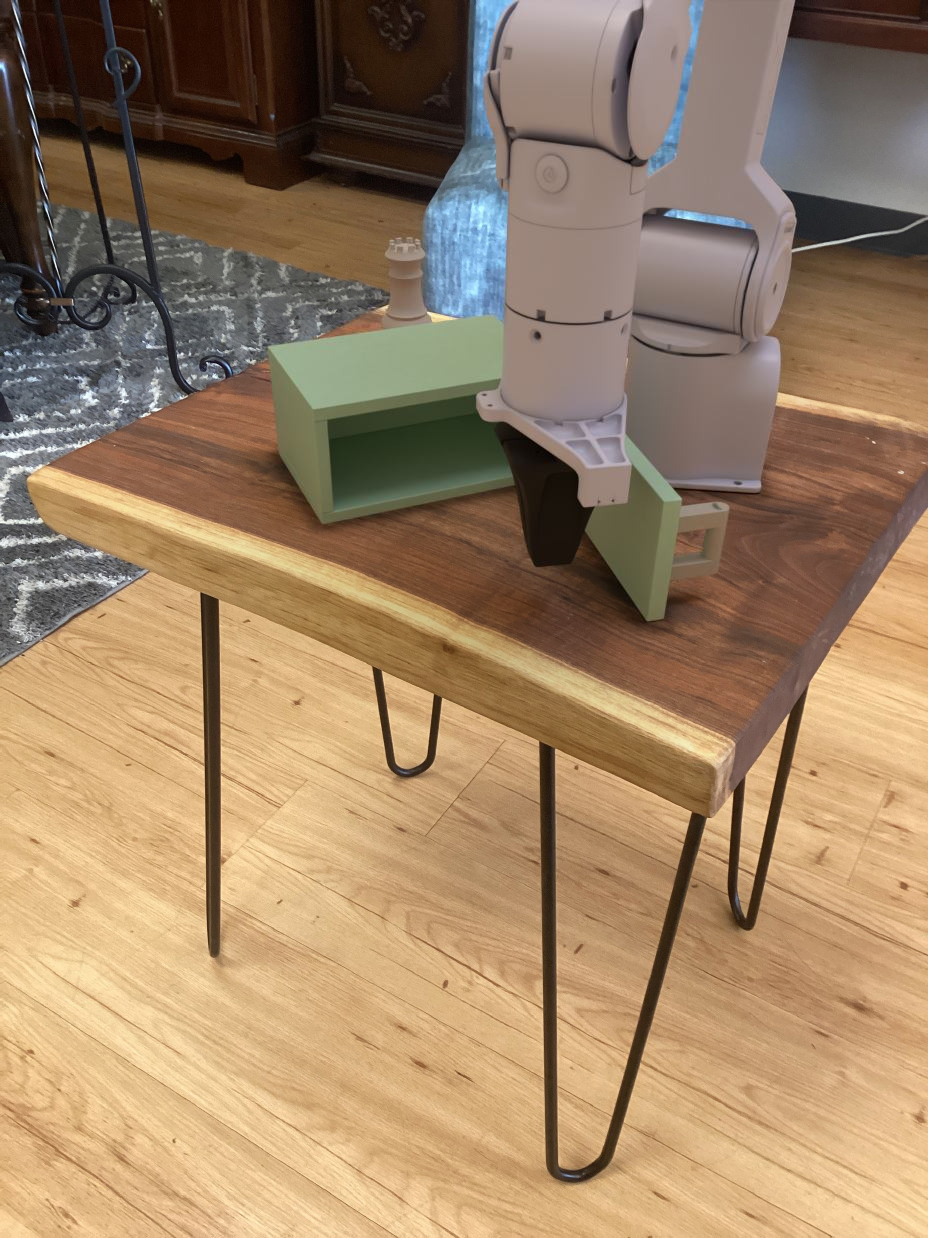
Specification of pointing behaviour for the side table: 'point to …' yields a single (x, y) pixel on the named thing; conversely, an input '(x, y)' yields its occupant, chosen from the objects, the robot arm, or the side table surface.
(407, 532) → the side table surface
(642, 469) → the door
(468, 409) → the cabinet
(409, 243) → the rook chess piece
